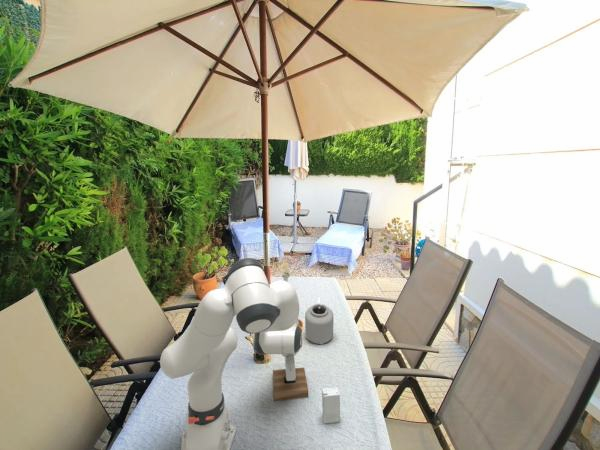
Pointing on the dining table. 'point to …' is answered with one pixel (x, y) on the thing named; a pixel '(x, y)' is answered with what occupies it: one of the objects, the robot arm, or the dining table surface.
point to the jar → (319, 323)
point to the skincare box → (331, 405)
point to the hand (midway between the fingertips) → (289, 375)
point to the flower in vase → (284, 269)
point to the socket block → (289, 385)
